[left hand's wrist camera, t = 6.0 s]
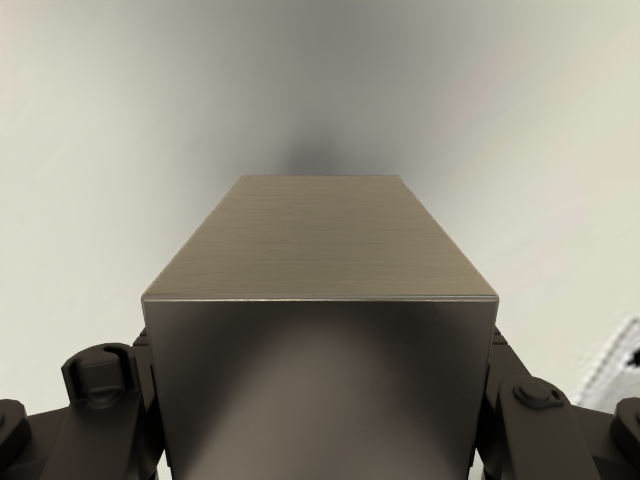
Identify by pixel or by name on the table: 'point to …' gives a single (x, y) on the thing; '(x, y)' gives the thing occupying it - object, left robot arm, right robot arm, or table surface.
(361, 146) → the table surface
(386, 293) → the bar
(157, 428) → the left robot arm
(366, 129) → the table surface
